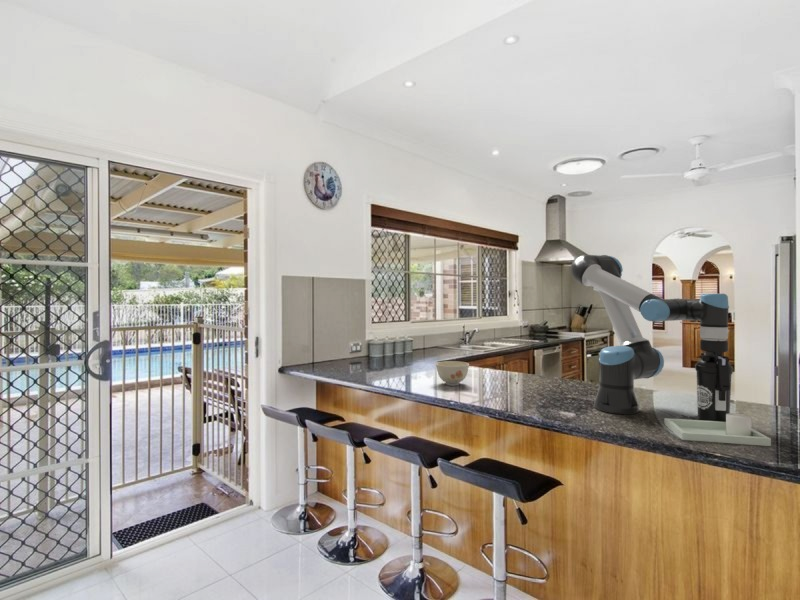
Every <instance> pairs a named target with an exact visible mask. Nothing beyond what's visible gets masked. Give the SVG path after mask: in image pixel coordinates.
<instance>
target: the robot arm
mask: <svg viewBox="0 0 800 600" xmlns="http://www.w3.org/2000/svg"><path fill="white" fill-rule="evenodd" d="M623 269H624V268H623V265H622V263H621V262H620V260H619V259H618V258H616V257H615V256H612V255H611V256H610V255H607V254H602V255H599V254H597V255H595V254H582V255H579V256H578V257H576V258H575V259H574V260H573V261H572V263H571V265H570V274H571V276H572V278H573V279H574V280H575V281H576V282H578V283H580V284H582V285H583V286H584V287H585V286H586V287H592V290H593V291H595V292H598V295H599V296H600V299H601V302H602V303H603V306H604V308H605V310H606V314H607V316H608V318H609V321H610V324H611V325H612V327H613V331H614V333H615V334H616V337H617V339H618V342H619V345H615V346H614V345H612V346H606V347H603V348H602V349H601V350H600V351H599V357H598V363H599V364H598V366H599V367H598V368H599V370H598V371H599V374H598V375H599V377H598V378H599V382H598V383H599V385H598V390H597V393H596V396H595V398H594V403H593V405H594V408H595V409H596V410H599V411H601V412H606V413H611V414H615V415H616V414H617V415H634V414H637V413H639V412H640V407H639V406H640V405H639V401H638V399H637V396H636V393H635V390H634V387H635V386H634V383H635V382H634V381H635V380H641V379H650V378H652V377H656V376H658V375H660V373H662V370H663V368H664V366H665V360H664V359H665V358H664V356H663V353H662V352H661V351H660V350H659V349H656V348H655V347H653V346H652V344H651V343H650V340H649V339H647V338H646V337H645V338H644V337H643V335H642V332H641V330H640V328H639V325H638V323H637V320H636V318H635V316H634V314H633V312H632V310H631V308H632V309H633V310H636V311H637V312H640V314H641V316H642V318H643V319H644V320H646V321H648V322H656V323H657V322H658V323H659V322H668V321H671V322H672V321H673V322H674V321H696V322H697V321H698V322H700V324H699V325H700V326H699V338H700V341H699V343H700V344H699V345H700V346H699V347H700V348H699V349H700V350H701V351H702V352H701V353H700V355H704V356H710V357H714V358H711V360H714V361H715V362H717V364H718V376H719V377H718V376H716V386H717V388H715V410H721V411H726V391H727V390H730V381H729V372H728V359H723V356H724V354H723V353H727V352H728V351H729V341H728V338H729V333H730V329H729V308H730V306H729V296H728V295H727V294H725V293H701V294H700V298H697V299H695V298H694V299H692V298H667V299H666V298H662V297H659V296H657V295H655V294H654V293H652V292H650V291H647V290H645V289H643V288H642V287H640V286H637V285H635V284H633V283H631V282H628V281H626V280H625V279H622V274H623V272H624V271H623ZM704 352H705V353H704ZM701 359H702V358H701V357H700V360H701ZM722 365H723V366H722Z"/></svg>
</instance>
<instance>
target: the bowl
mask: <svg viewBox="0 0 800 600" xmlns="http://www.w3.org/2000/svg"><path fill="white" fill-rule="evenodd" d="M435 367H436V372H437V374H438V377H439V378H440V379H441V381H443V382H444V383H445V385H446V386H450V387H451V386H452V387H455V386H459V385H460V383H461V382H463V381H464V380H465V379H466V377H467V375H468V371H469V368H470V364H469V362H465V361H459V360H458V361H456V360H455V361H454V360H445V361H439V362H436V363H435Z"/></svg>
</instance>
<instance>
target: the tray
mask: <svg viewBox="0 0 800 600" xmlns="http://www.w3.org/2000/svg"><path fill="white" fill-rule="evenodd" d="M663 422H664V424H663V425H664V426H665V427H667V428H668V429H669V430H670V431H671V432H672V433H674V434H675V436H677V437H679V438H680V440H682V441H692V442H693V441H694V442H696V441H697V442H709V443H723V444H734V445H736V444H737V445H748V446H749V445H750V446H761V447H771V446H772V439H771V438H770V437H769V436H767V435H765V434H763V433H761V432H759V431H758V430H757V429H755V428H752V427H751V436H738V435H726V422H719V421H703V420H698V419H685V418H670V417H669V418H664V419H663Z"/></svg>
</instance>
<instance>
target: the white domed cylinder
mask: <svg viewBox="0 0 800 600" xmlns="http://www.w3.org/2000/svg"><path fill="white" fill-rule="evenodd" d="M751 428H752V417H751V416H749V415H746V414H741V413H731V412H730V413H728V414H726V435H738V436H751Z"/></svg>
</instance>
